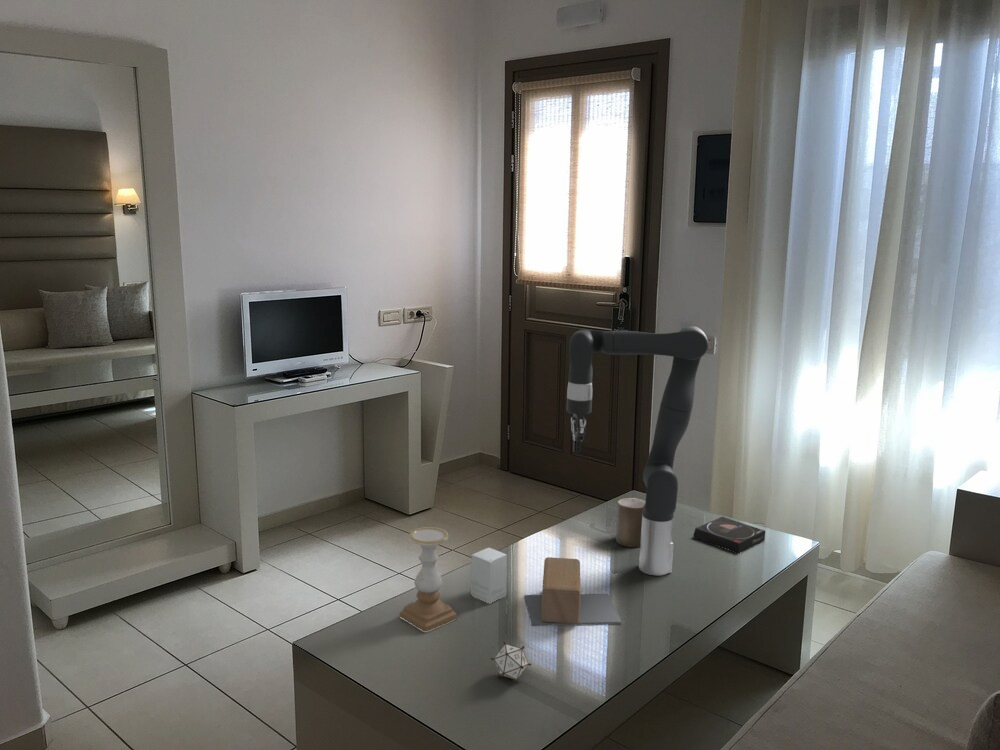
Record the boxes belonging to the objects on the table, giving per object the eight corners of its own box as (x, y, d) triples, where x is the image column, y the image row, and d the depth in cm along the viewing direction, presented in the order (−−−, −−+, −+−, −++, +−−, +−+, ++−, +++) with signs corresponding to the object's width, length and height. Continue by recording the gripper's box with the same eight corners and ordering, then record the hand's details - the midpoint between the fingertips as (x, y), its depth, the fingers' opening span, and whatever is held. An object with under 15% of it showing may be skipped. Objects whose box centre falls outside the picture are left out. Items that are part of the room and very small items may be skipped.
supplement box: (507, 596, 226) (508, 554, 223) (488, 605, 220) (489, 562, 218) (488, 587, 231) (489, 546, 228) (470, 596, 225) (470, 554, 223)
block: (580, 557, 227) (580, 590, 207) (578, 590, 229) (579, 625, 209) (544, 555, 228) (542, 587, 208) (543, 588, 230) (540, 623, 210)
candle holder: (430, 604, 220) (431, 522, 215) (457, 619, 212) (458, 535, 207) (398, 618, 212) (398, 533, 207) (425, 634, 205) (425, 546, 200)
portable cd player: (719, 526, 281) (720, 516, 280) (764, 541, 269) (765, 530, 268) (693, 538, 270) (693, 527, 269) (738, 555, 258) (739, 543, 257)
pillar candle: (647, 548, 260) (650, 504, 258) (617, 547, 260) (620, 503, 258) (642, 536, 270) (645, 494, 267) (613, 535, 270) (616, 493, 267)
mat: (607, 595, 228) (608, 593, 228) (621, 623, 212) (621, 621, 212) (524, 596, 225) (524, 595, 225) (531, 625, 210) (531, 623, 210)
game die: (502, 688, 188) (489, 646, 192) (536, 676, 189) (522, 634, 192) (498, 691, 180) (484, 646, 183) (534, 678, 180) (519, 634, 183)
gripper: (596, 402, 234) (593, 458, 237) (587, 391, 247) (584, 445, 250) (571, 401, 233) (568, 458, 237) (563, 391, 246) (561, 445, 250)
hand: (577, 452), depth 243 cm, fingers closed
